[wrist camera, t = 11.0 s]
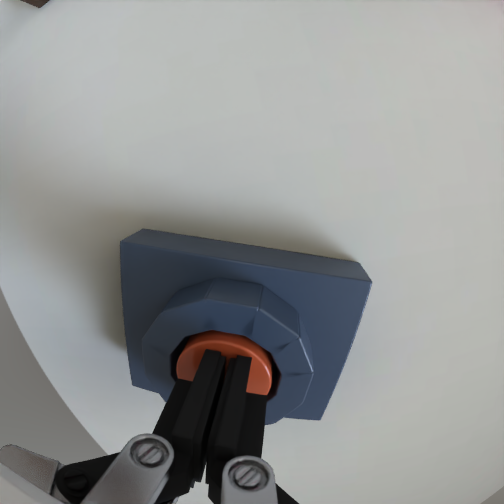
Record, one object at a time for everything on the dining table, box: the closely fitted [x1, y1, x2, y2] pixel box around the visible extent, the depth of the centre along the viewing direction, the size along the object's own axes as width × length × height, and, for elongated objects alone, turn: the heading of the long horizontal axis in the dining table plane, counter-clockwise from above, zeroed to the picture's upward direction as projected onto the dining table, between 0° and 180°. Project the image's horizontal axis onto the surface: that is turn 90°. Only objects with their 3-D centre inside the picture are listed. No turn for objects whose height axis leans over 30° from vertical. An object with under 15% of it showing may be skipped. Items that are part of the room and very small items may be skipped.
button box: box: [120, 229, 372, 425], centre depth 12 cm, size 10×8×4 cm
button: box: [176, 330, 273, 395], centre depth 11 cm, size 4×4×2 cm
